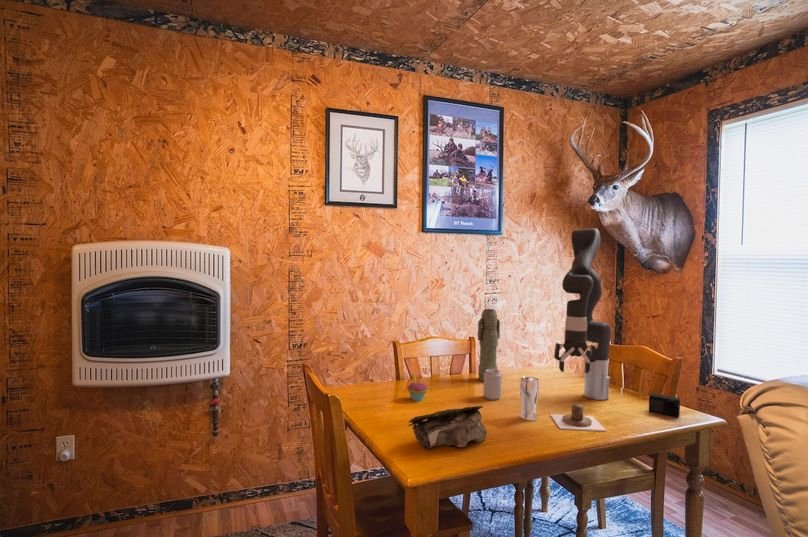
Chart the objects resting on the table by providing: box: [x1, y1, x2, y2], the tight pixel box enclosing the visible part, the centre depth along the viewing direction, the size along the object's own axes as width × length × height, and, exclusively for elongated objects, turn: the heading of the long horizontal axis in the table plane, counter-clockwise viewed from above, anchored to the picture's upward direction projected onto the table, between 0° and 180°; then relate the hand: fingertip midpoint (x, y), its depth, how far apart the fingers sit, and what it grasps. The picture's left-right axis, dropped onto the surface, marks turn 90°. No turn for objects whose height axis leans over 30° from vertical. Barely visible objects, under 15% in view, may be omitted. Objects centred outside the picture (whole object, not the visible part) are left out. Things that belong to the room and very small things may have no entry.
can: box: [482, 368, 503, 401], centre depth 196 cm, size 8×8×12 cm
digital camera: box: [648, 392, 681, 419], centre depth 180 cm, size 10×5×7 cm, turn 53°
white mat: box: [550, 413, 607, 432], centre depth 168 cm, size 16×14×1 cm
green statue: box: [477, 308, 501, 383], centre depth 223 cm, size 9×12×35 cm
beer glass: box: [519, 376, 540, 422], centre depth 172 cm, size 7×7×15 cm
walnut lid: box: [563, 403, 592, 427], centre depth 168 cm, size 10×10×6 cm
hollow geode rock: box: [408, 405, 488, 451], centre depth 145 cm, size 28×13×15 cm
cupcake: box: [406, 370, 428, 402], centre depth 191 cm, size 9×8×12 cm
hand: (574, 372), depth 168 cm, fingers open, 8 cm apart
